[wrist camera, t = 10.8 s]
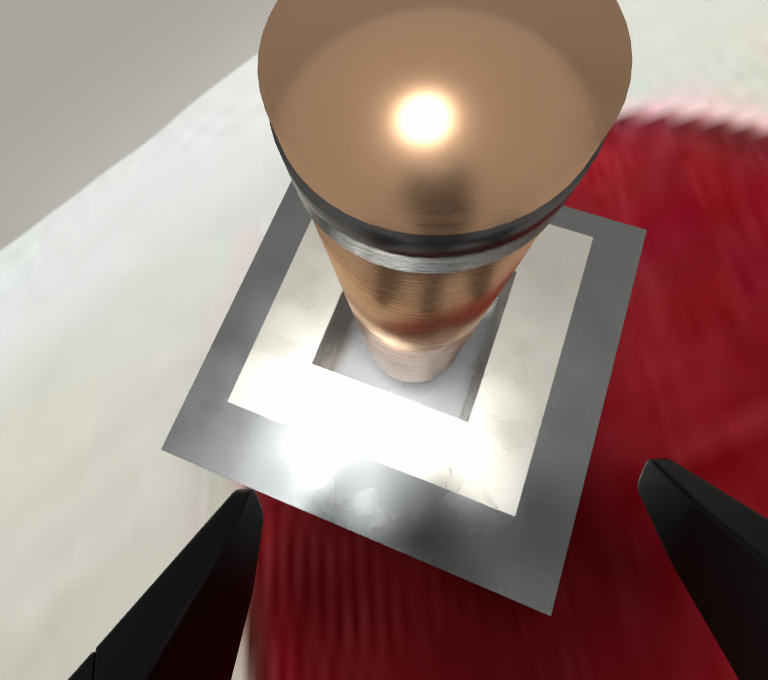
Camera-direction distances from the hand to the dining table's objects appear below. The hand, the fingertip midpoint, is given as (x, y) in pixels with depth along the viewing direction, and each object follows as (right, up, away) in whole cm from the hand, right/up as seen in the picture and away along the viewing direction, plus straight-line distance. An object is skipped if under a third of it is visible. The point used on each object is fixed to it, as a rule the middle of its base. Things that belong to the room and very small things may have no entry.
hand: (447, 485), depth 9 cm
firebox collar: (0, +3, +10) cm, 11 cm away
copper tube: (0, +4, +9) cm, 10 cm away
